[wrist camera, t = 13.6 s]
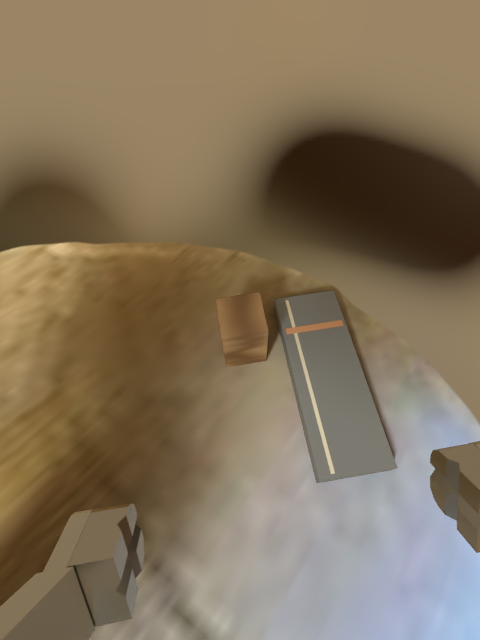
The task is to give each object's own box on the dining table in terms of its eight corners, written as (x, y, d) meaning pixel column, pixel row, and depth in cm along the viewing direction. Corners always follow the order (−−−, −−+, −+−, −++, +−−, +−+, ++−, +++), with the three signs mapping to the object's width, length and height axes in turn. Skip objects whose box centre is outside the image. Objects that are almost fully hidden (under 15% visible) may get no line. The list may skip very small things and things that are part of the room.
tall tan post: (226, 367, 42) (221, 338, 36) (221, 331, 45) (215, 298, 38) (266, 360, 43) (268, 331, 36) (259, 326, 45) (259, 292, 38)
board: (316, 483, 36) (319, 481, 34) (273, 307, 46) (274, 298, 45) (390, 470, 36) (397, 467, 34) (331, 298, 47) (334, 289, 45)
